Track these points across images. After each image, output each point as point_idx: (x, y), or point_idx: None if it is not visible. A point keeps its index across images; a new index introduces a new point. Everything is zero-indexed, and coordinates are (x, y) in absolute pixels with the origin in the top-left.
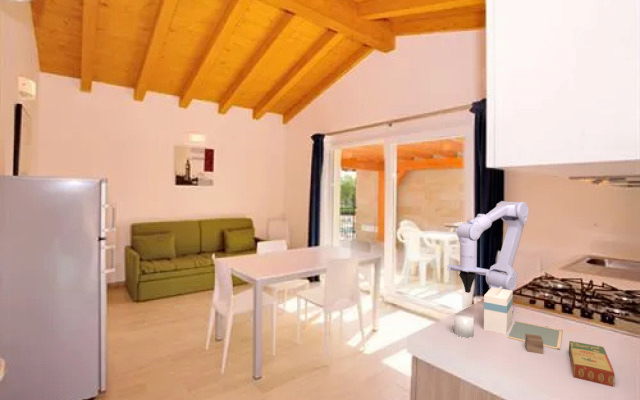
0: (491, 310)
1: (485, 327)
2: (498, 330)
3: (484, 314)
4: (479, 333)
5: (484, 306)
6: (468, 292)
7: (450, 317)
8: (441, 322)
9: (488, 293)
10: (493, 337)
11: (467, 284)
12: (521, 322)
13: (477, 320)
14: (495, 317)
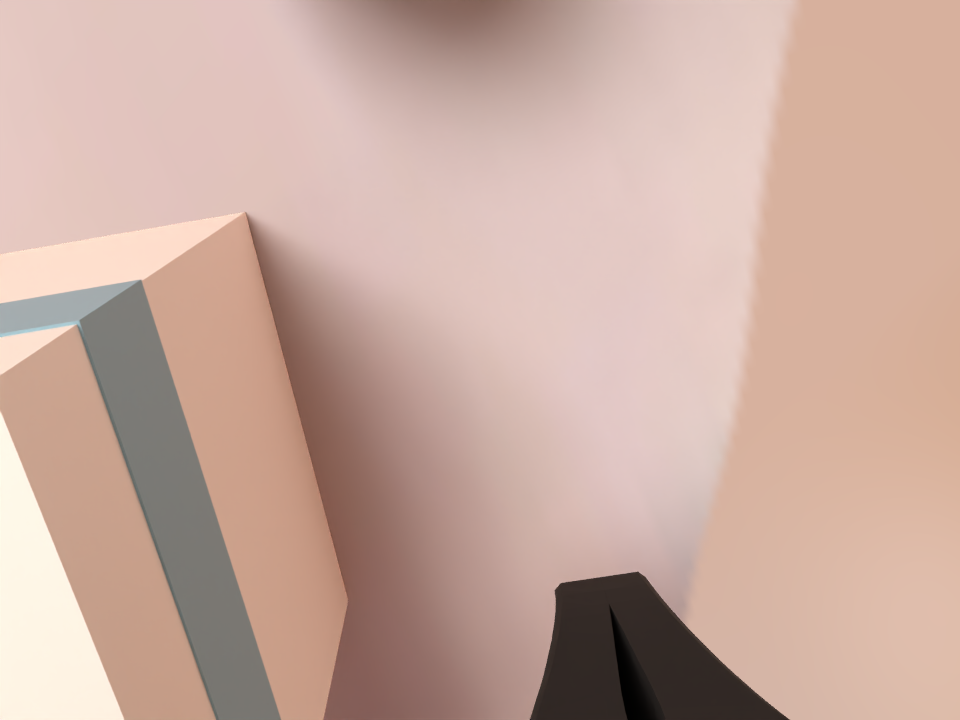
0: (5, 302)
1: (214, 221)
2: (54, 247)
3: (166, 257)
4: (213, 27)
5: (108, 294)
6: (569, 585)
7: (743, 288)
8: (777, 7)
9: (26, 618)
10: (26, 35)
11: (619, 704)
12: None
13: (436, 440)
14: (4, 287)
